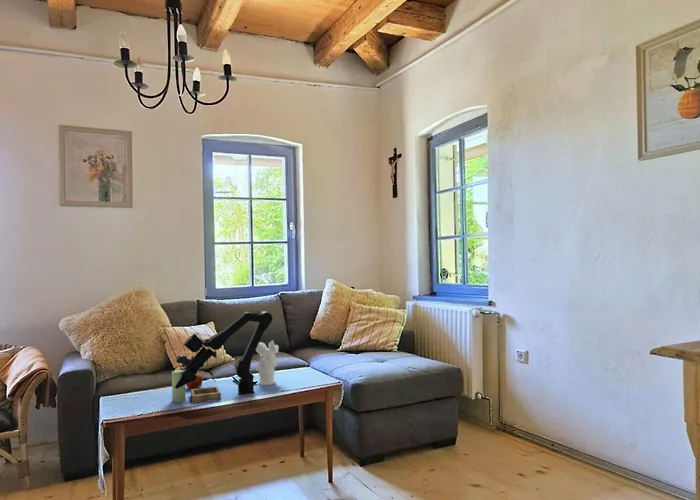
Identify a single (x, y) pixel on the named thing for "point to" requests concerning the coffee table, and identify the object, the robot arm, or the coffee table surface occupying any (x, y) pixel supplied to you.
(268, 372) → the cherub figurine
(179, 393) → the green rounded tapered cylinder
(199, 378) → the fruit
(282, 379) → the coffee table surface
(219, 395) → the tray
